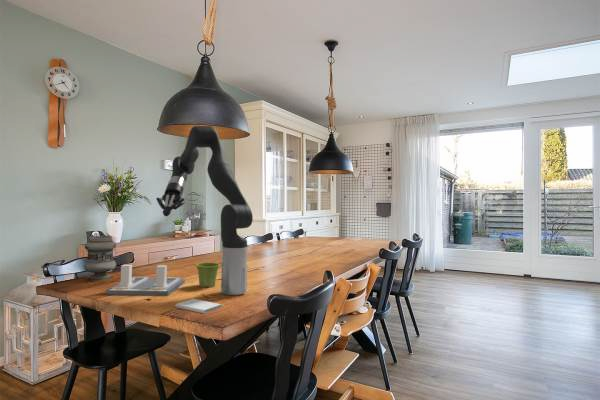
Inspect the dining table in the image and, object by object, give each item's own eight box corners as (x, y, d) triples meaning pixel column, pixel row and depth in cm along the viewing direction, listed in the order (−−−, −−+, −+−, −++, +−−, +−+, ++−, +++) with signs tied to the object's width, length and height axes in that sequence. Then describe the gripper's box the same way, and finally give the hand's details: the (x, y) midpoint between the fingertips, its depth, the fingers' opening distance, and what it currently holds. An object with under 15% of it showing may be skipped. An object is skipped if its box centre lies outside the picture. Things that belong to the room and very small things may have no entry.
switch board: (184, 282, 151) (185, 277, 151) (168, 295, 130) (168, 289, 130) (131, 281, 150) (131, 276, 150) (105, 294, 129) (106, 288, 129)
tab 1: (132, 284, 137) (133, 264, 137) (128, 287, 133) (128, 266, 133) (124, 284, 137) (124, 264, 137) (119, 286, 133) (119, 266, 133)
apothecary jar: (76, 279, 151) (78, 236, 151) (100, 274, 162) (102, 234, 162) (99, 282, 147) (100, 238, 147) (122, 277, 158) (123, 236, 159)
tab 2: (167, 285, 137) (167, 265, 137) (163, 287, 133) (164, 267, 133) (158, 285, 137) (159, 265, 137) (154, 287, 133) (155, 266, 133)
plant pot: (224, 285, 147) (224, 264, 147) (206, 289, 139) (207, 267, 140) (208, 282, 153) (209, 261, 153) (190, 286, 145) (191, 264, 145)
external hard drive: (203, 315, 110) (175, 308, 116) (222, 309, 117) (194, 302, 123) (204, 310, 110) (175, 303, 116) (222, 303, 117) (194, 298, 123)
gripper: (159, 181, 166) (148, 208, 153) (188, 182, 166) (179, 209, 154) (162, 193, 171) (152, 220, 158) (191, 194, 171) (182, 221, 159)
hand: (165, 214), depth 156 cm, fingers closed
